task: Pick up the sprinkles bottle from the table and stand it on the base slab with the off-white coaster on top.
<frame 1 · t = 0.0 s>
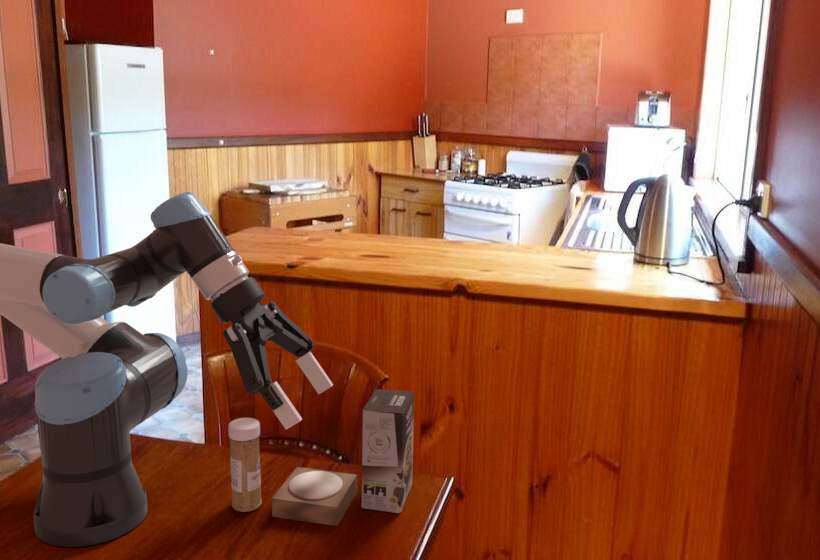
hand: (311, 406, 110), 15 cm above the table, tool tilted 35°, fingers open, 13 cm apart
coffee box: (387, 497, 115), on the table
sprinkles bottle: (246, 506, 111), on the table
base: (316, 503, 112), on the table
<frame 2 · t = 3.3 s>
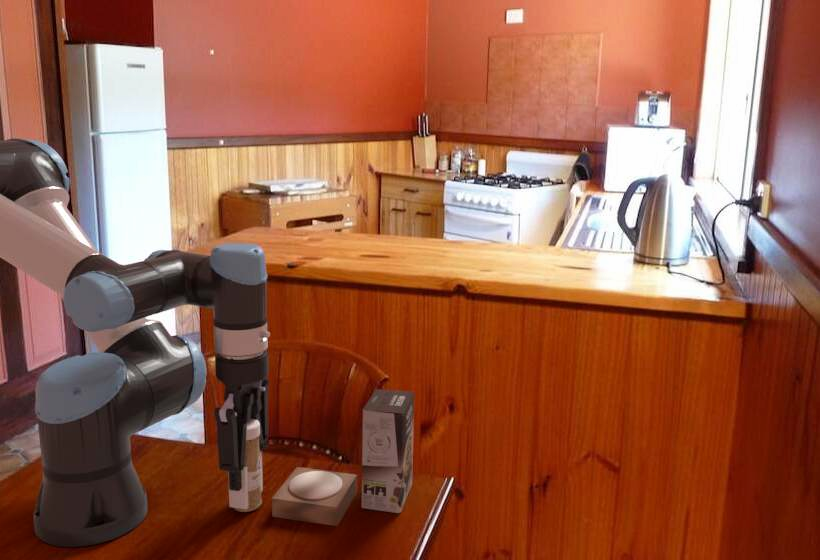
hand: (246, 498, 111), 1 cm above the table, tool pointing down, fingers closed on sprinkles bottle, 4 cm apart
sprinkles bottle: (246, 506, 111), on the table, touching gripper
everything else where it was.
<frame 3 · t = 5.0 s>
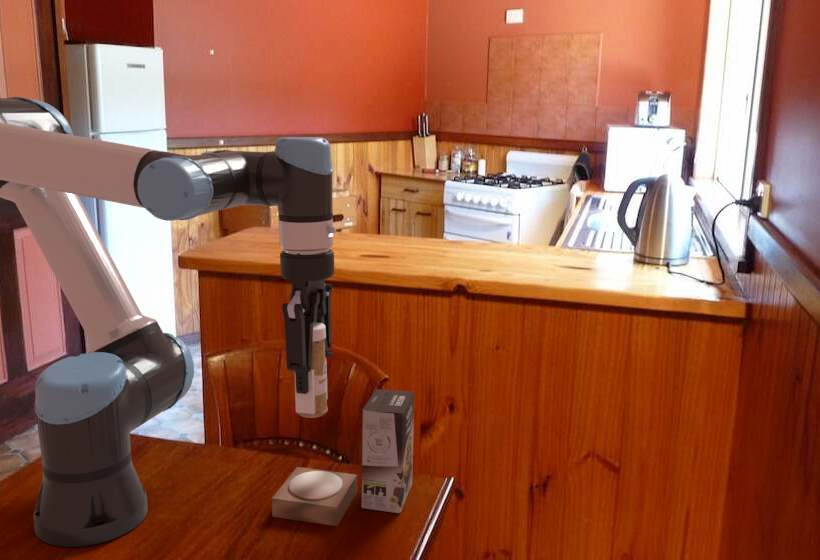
hand: (312, 405, 108), 16 cm above the table, tool pointing down, fingers closed on sprinkles bottle, 4 cm apart
sprinkles bottle: (312, 414, 108), point 15 cm above the table, touching gripper
everything else where it was.
when the fingers open (6 cm above the table, at t = 7.1 s): sprinkles bottle drops 2 cm, resting on base.
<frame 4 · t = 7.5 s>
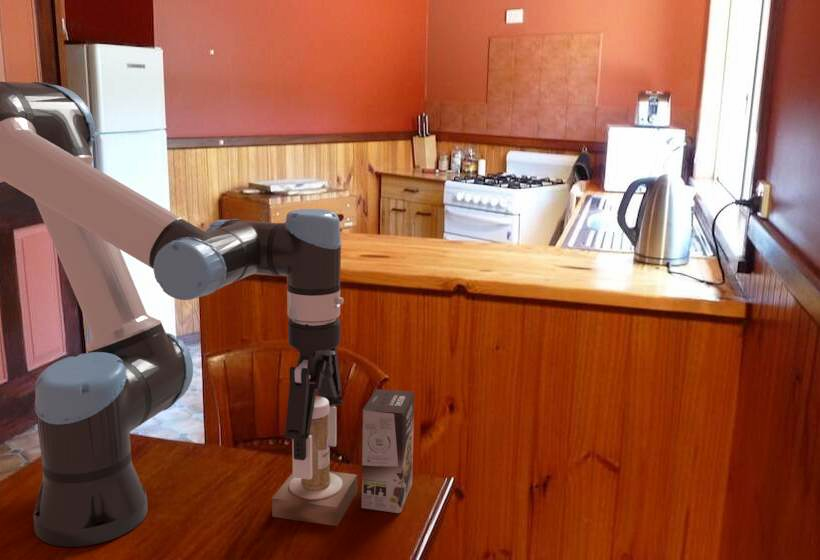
hand: (315, 460, 110), 7 cm above the table, tool pointing down, fingers open, 10 cm apart
sprinkles bottle: (315, 484, 111), point 3 cm above the table, touching base
everything else where it was.
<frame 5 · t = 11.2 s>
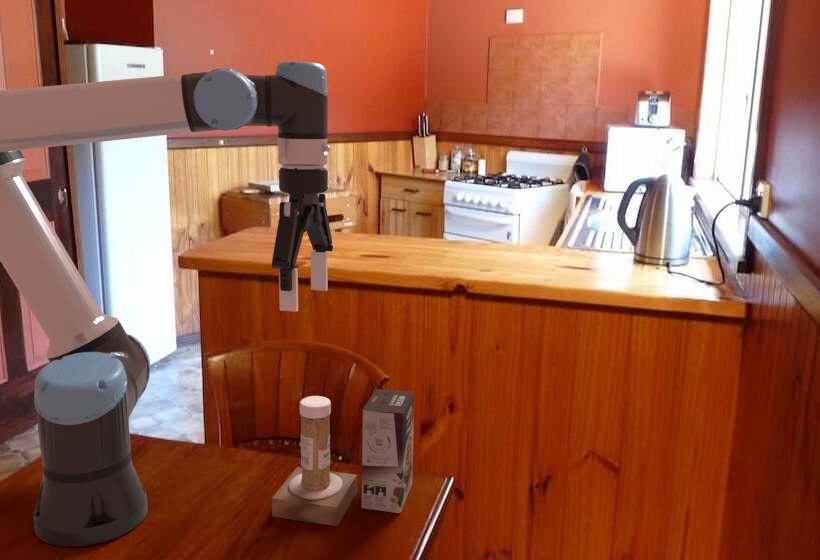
hand: (304, 299, 118), 29 cm above the table, tool pointing down, fingers open, 13 cm apart
nothing on the table moved.
at the end: sprinkles bottle inside the target area on the base (0.0 cm from its centre), point 3.2 cm above the base's base; sprinkles bottle tilted 0°; the gripper is holding nothing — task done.
